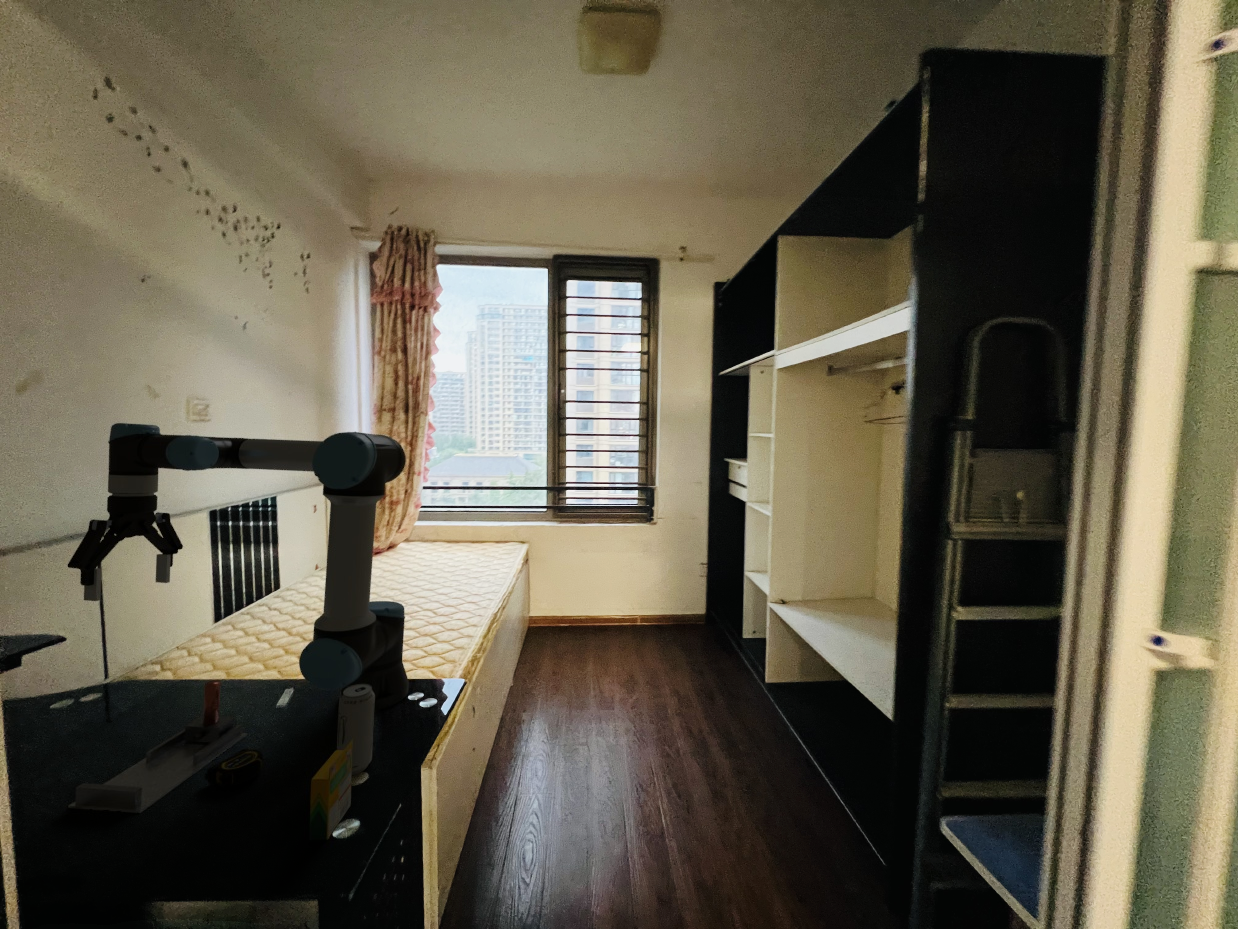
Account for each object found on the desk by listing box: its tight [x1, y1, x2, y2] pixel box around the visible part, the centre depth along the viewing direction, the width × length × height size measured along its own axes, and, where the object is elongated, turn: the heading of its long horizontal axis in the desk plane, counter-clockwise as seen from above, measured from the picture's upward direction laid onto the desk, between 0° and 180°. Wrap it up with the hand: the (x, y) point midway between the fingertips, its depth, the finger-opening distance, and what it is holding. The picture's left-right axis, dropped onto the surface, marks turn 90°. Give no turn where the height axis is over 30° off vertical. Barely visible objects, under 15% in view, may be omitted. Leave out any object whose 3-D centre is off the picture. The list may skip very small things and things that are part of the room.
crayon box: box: [308, 740, 353, 841], centre depth 75 cm, size 7×3×12 cm, turn 4°
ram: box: [184, 679, 237, 743], centre depth 93 cm, size 7×5×11 cm
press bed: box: [68, 724, 248, 814], centre depth 85 cm, size 12×21×3 cm, turn 179°
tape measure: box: [204, 748, 264, 788], centre depth 84 cm, size 7×7×4 cm
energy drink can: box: [336, 684, 375, 776], centre depth 88 cm, size 6×6×15 cm
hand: (129, 590), depth 100 cm, fingers open, 13 cm apart
